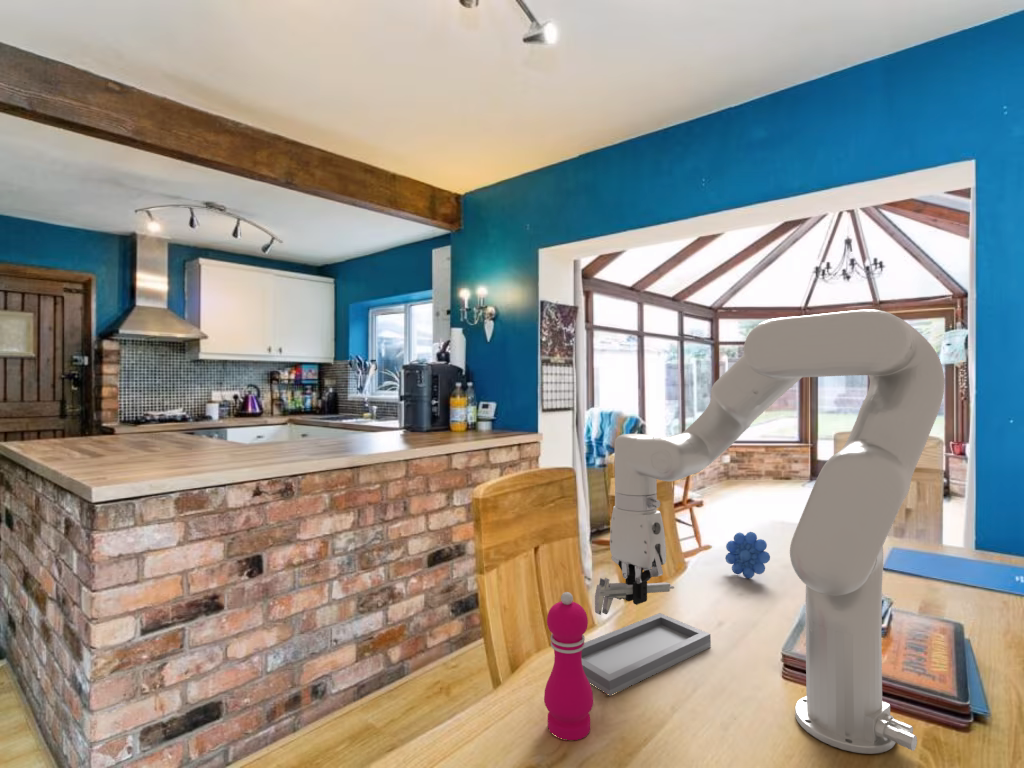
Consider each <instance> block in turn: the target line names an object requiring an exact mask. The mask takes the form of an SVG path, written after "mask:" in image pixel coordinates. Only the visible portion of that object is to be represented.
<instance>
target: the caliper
mask: <svg viewBox="0 0 1024 768" xmlns="http://www.w3.org/2000/svg"><path fill="white" fill-rule="evenodd" d="M671 589H672V590H673V589H675V586H674V585H671V583H669V582H657V583H656V582H652V583H647V594H652V593H653V594H654V593H665V592H666V593H667V592H670V591H671ZM630 594H633V585H628V584H626V582H613V583H612V582H610V579H609V578H607V577H605V578H601V577H600V578H599V584H596V589H595V593H594V612H595V613H596V614H597V615H601V616H602V614H605V615H608V613H609V611H610V610H611V605H612V604H613V600H614V599H617V600H626V595H630Z"/></svg>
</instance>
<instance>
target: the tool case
mask: <svg viewBox="0 0 1024 768" xmlns="http://www.w3.org/2000/svg"><path fill="white" fill-rule="evenodd" d="M584 643H585V647H584V648H583V650H582V654H581V659H582V666H583V670H584V672H585V675H586V677H587V679H588V681H589V683H591V684H593V685H594V686H596V687H597V688H599V689H601V690H602V691H604V692H605V693H607V694H609V696H608V697H611V696H610V695H612V694H614V693H616V692H618V691H620V692H622V691H624V690H626V689H628V688H630V687H632V686H634V685H636V684H638V683H640V681H641V682H643V681H644V679H645V680H646V678H647V679H649V678H651V677H653V676H655V675H657V674H658V673H661V672H663V671H664V670H666V669H669V668H671V667H673V666H675V665H677V664H680V663H682V662H684V661H685V660H688V659H689V658H691V657H693V656H696V655H697V654H700V653H702V652H703V651H706V650H708V649H710V648H711V646H712V645H711V643H712V642H711V633H709V632H707V631H705V630H702V629H699V628H697V627H695V626H692V625H690V624H688V623H685V622H683V621H680V620H678V619H676V618H673V617H671V616H668V615H665V614H663V613H661V612H659V613H657V614H654V615H652V616H648V617H645V618H643V619H641V620H639V621H636V622H634V623H631V624H628V625H626V626H624V627H621V628H618V629H616V630H613V631H610V632H608V633H605V634H603V635H600V636H599V637H596V638H593V639H590V640H589V641H586V642H585V641H584ZM656 673H657V674H656ZM652 675H653V676H652ZM648 677H649V678H648ZM642 680H643V681H642ZM631 685H632V686H631ZM594 686H593V687H594ZM629 686H630V687H629ZM627 687H628V688H627ZM597 688H596V689H597ZM625 688H626V689H625ZM623 689H624V690H623ZM621 690H622V691H621ZM602 691H601V692H602ZM605 693H604V694H605ZM618 693H619V692H618ZM616 694H617V693H616ZM614 695H615V694H614ZM612 696H613V695H612Z"/></svg>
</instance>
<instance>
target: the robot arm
mask: <svg viewBox="0 0 1024 768" xmlns="http://www.w3.org/2000/svg"><path fill="white" fill-rule="evenodd" d="M841 376H842V377H847V376H849V377H850V376H868V378H869V386H868V389H867V393H866V396H865V398H864V400H863V402H862V404H861V406H860V408H859V411H858V414H857V416H856V419H855V422H854V425H853V427H852V429H851V431H850V434H849V436H848V438H847V440H846V441H845V443H844V446H843V447H842V448H841V449H840V450H839V451H838V452H836V453H834V454H833V455H832V456H831V457H830V458H829V459H828V460H827V461H826V462H825V464H823V466H822V468H821V469H820V471H819V473H818V476H817V478H816V480H815V482H814V484H813V486H812V489H811V491H810V493H809V497H808V499H807V501H806V504H805V506H804V508H803V512H802V513H801V517H800V518H799V521H798V523H797V526H796V528H795V531H794V533H793V536H792V538H791V542H790V546H789V558H790V562H791V565H792V568H793V571H794V572H795V575H796V576H797V577H798V579H800V581H801V582H802V583H804V585H805V613H804V614H805V672H806V673H805V674H806V675H805V676H806V677H805V679H806V681H805V682H806V685H805V688H806V692H805V693H806V696H803V697H801V698H800V699H798V700H797V702H796V703H795V707H794V708H795V709H794V712H795V719H796V720H797V723H798V724H799V725H800V726H801V728H802V729H803V730H805V731H806V733H808V734H809V735H811V736H812V737H814V738H815V739H817V740H819V741H820V742H823V743H824V744H828V746H831V747H834V748H836V749H837V748H838V749H840V750H843V751H846V752H847V751H848V752H851V753H857V754H868V755H869V754H870V755H871V754H881V753H884V752H888V751H890V750H891V749H893V748H894V746H895V745H896V744H897V745H899V746H901V747H903V748H906V749H907V750H911V751H913V752H914V751H915V750H916V748H917V744H918V737H917V735H916V734H913V732H914V727H913V725H911V724H908V723H906V722H903V721H900V720H898V719H895V718H894V715H891V705H890V703H888V702H886V701H883V669H882V668H883V660H882V659H883V658H882V657H883V653H882V642H883V641H882V629H883V627H882V626H883V619H882V617H883V616H882V615H883V611H882V606H883V605H882V604H883V603H882V601H883V600H882V599H883V598H882V597H883V595H882V594H883V576H884V575H883V574H884V543H885V542H886V539H887V538H888V536H889V533H890V532H891V529H892V526H893V524H894V522H895V520H896V518H897V515H898V513H899V511H900V509H901V506H903V503H904V501H905V499H906V498H907V496H908V493H909V491H910V488H911V483H912V479H913V476H914V473H915V470H916V468H917V465H918V463H919V460H920V458H921V455H922V453H923V451H924V449H925V447H926V444H927V442H928V439H929V436H930V435H931V431H932V430H933V426H934V424H935V421H936V419H937V417H938V414H939V411H940V409H941V405H942V404H943V403H942V402H943V398H944V394H945V393H944V392H945V372H944V369H943V364H942V362H941V359H940V357H939V355H938V352H937V351H936V349H935V348H934V347H933V345H932V344H931V343H930V342H929V341H928V339H926V338H925V337H924V336H923V335H922V333H920V332H919V330H917V329H916V328H914V327H913V326H912V325H910V324H909V323H908V322H906V321H905V320H903V318H901V317H898V316H896V315H895V314H893V313H890V312H888V311H884V310H880V309H869V308H867V309H857V310H847V311H846V310H845V311H837V312H828V313H819V314H818V313H817V314H810V315H800V316H787V317H776V318H770V319H767V320H764V321H762V322H760V323H758V324H757V325H756V326H755V327H753V329H751V330H750V331H749V333H748V334H747V336H746V338H745V341H744V345H743V354H742V355H741V357H739V359H737V361H735V363H733V365H731V367H729V368H728V369H727V370H726V371H725V372H724V373H723V374H722V375H721V376H720V377H718V379H717V380H716V381H715V382H714V383H713V384H712V387H711V389H710V402H709V404H708V405H707V406H706V409H704V411H703V412H702V413H701V415H700V416H699V417H697V419H695V420H694V422H692V424H690V426H688V427H687V428H686V429H685V430H684V431H682V432H681V433H679V434H674V435H669V436H664V437H659V438H654V437H653V436H652V435H649V434H645V433H624V434H619V435H618V436H617V437H616V438H615V439H614V506H613V509H612V513H611V519H610V528H609V551H610V554H611V560H612V562H614V563H615V564H616V565H618V567H619V569H620V571H621V572H622V573H621V574H622V577H623V579H625V584H628V585H633V594H630V595H626V599H625V601H626V602H632V603H633V605H636V606H638V605H640V604H643V603H645V602H647V601H648V593H647V584H648V581H650V580H651V578H657V577H660V576H663V574H664V570H663V566H662V565H665V564H666V562H667V547H666V546H667V544H666V536H665V535H666V534H665V528H664V527H665V526H664V522H663V517H662V513H661V511H660V510H658V509H657V508H660V507H661V501H660V500H659V499H658V497H657V496H658V495H657V493H658V491H657V486H658V485H657V480H659V481H663V482H676V481H678V480H682V479H685V478H687V477H690V476H691V475H695V474H698V473H700V472H702V471H703V470H704V469H706V468H707V467H708V466H710V465H711V464H712V463H713V462H715V460H717V459H718V458H719V457H720V456H721V455H722V454H724V452H725V451H727V450H728V449H729V448H730V447H731V446H732V445H733V444H734V443H735V442H737V440H738V439H739V437H741V436H742V434H744V432H746V431H747V430H748V429H749V427H751V425H752V423H754V421H756V420H757V418H759V416H760V415H762V414H763V413H764V412H765V411H766V410H768V409H769V408H770V407H771V406H772V405H773V404H775V403H776V401H778V400H779V398H781V397H782V396H783V395H784V394H785V393H786V392H788V390H790V389H791V388H792V387H793V386H795V384H797V383H798V382H799V381H800V380H801V379H802V378H819V377H822V378H823V377H841Z"/></svg>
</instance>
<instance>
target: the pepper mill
mask: <svg viewBox="0 0 1024 768" xmlns="http://www.w3.org/2000/svg"><path fill="white" fill-rule="evenodd" d="M560 600H561V601H559V602H557V603H556V602H555V604H553V605H552V606H551V607H550V609H549V610H548V612H547V617H546V623H547V624H546V625H547V628H548V630H549V632H550V633H551V635H550V647H551V649H553V651H554V657H553V658H554V660H553V661H554V662H553V667H552V669H551V673H550V675H549V677H548V680H547V681H546V685H545V688H544V694H543V695H544V697H543V700H544V705H545V708H546V710H547V711H548V713H547V729H548V728H549V729H548V731H549V730H550V731H549V733H550V732H551V733H553V734H554V735H556V736H557V737H559V738H562V739H567V740H575V741H579V740H578V739H580V740H582V739H583V738H586V737H587V736H588V735H589V733H590V732H591V715H590V712H591V710H592V709H593V706H594V693H593V689H592V685H590V683H589V681H588V679H587V677H586V675H585V672H584V670H583V666H582V659H581V654H582V650H583V648H584V647H585V635H584V634H585V633H586V631H587V629H588V624H589V620H588V615H587V613H586V610H585V609H584V607H583V606H582V605H581V604H579V603H577V602H575V601H574V597H573V594H572V593H571V592H568V591H565V592H562V594H561V596H560ZM551 733H550V734H551ZM557 737H556V738H557ZM559 738H558V739H559ZM562 739H561V740H562ZM567 740H566V741H567Z"/></svg>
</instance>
